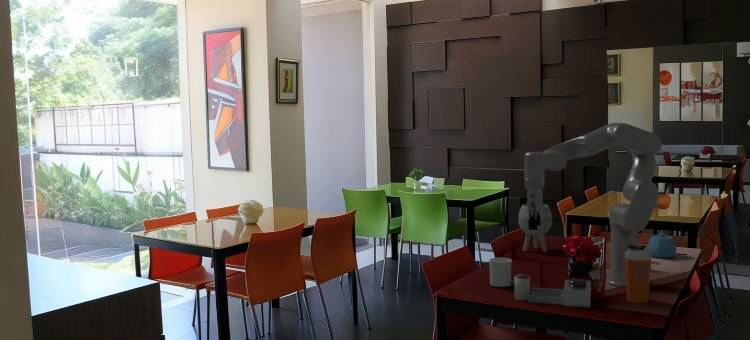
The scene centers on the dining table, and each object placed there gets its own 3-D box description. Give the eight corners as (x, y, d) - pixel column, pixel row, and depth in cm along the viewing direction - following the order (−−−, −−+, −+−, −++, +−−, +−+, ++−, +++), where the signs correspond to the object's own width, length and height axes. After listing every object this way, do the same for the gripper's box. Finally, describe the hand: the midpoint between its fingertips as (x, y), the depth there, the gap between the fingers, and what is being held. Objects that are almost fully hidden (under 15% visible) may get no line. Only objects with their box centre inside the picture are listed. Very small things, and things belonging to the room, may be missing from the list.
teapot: (645, 236, 297) (648, 229, 313) (645, 259, 298) (647, 251, 314) (676, 238, 291) (677, 231, 307) (675, 262, 292) (676, 253, 308)
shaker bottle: (619, 297, 240) (620, 243, 238) (643, 296, 241) (643, 242, 239) (631, 304, 231) (632, 249, 230) (655, 303, 232) (656, 247, 230)
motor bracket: (590, 294, 245) (591, 274, 244) (590, 307, 229) (590, 286, 228) (532, 291, 252) (532, 271, 251) (528, 303, 236) (528, 282, 235)
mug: (507, 289, 255) (507, 263, 254) (485, 286, 260) (485, 261, 259) (516, 282, 264) (516, 257, 263) (496, 280, 269) (495, 255, 268)
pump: (530, 296, 244) (530, 273, 243) (529, 301, 239) (529, 277, 238) (511, 295, 247) (511, 272, 246) (509, 299, 241) (509, 276, 240)
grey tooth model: (556, 253, 314) (555, 207, 312) (522, 254, 315) (522, 208, 313) (547, 246, 330) (547, 202, 328) (515, 247, 331) (515, 203, 329)
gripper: (541, 186, 244) (541, 232, 245) (546, 181, 260) (547, 224, 261) (521, 186, 247) (521, 231, 248) (527, 181, 263) (527, 223, 264)
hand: (534, 227), depth 255 cm, fingers open, 9 cm apart
